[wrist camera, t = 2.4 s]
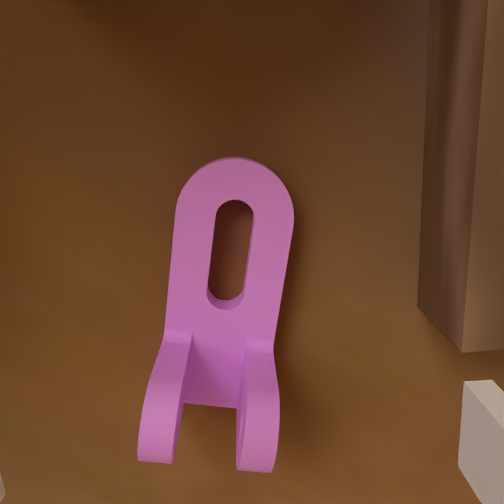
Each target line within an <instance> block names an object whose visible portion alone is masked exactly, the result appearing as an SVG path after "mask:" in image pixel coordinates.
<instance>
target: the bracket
mask: <svg viewBox="0 0 504 504" xmlns="http://www.w3.org/2000/svg"><path fill="white" fill-rule="evenodd" d="M229 200H241V201H243V202H245V203H247V204H248V205H249V206H250V207H251V209H252V210H253V213H254V217H253V224H252V231H251V238H250V245H249V252H248V259H247V266H246V273H245V280H244V287H243V290H242V292H241V293H240V295H239V296H237V297H236V298H234V299H232V300H220V299H218V298H216V297H215V296H213V295H212V293H211V292H210V290H209V287H208V278H209V270H210V261H211V253H212V244H213V236H214V228H215V219H216V212H217V210H218V208H219V207H220V206H221V205H222V204H223V203H225V202H226V201H229ZM293 225H294V210H293V205H292V201H291V198H290V195H289V193H288V191H287V189H286V187H285V186H284V184H283V183H282V181H281V180H280V179H279V177H278V176H277V175H276V174H275V173H274V172H273V171H272V170H271V169H269V168H268V167H266V166H265V165H263V164H261V163H260V162H258V161H255V160H252V159H248V158H244V157H225V158H220V159H217V160H214V161H212V162H210V163H208V164H206V165H204V166H203V167H201V168H200V169H199V170H198V171H196V172H195V173H194V174H193V175H192V177H191V178H190V179H189V180H188V182H187V183H186V184H185V186H184V187H183V189H182V191H181V193H180V195H179V198H178V201H177V205H176V211H175V222H174V233H173V244H172V254H171V265H170V276H169V286H168V297H167V308H166V318H165V329H164V336H163V341H162V344H161V347H160V350H159V353H158V356H157V359H156V361H155V364H154V367H153V370H152V373H151V376H150V379H149V383H148V386H147V390H146V395H145V399H144V404H143V410H142V416H141V422H140V429H139V438H138V451H137V456H138V461H145V462H155V463H166V464H172V463H173V459H174V455H175V449H176V444H177V439H178V433H179V428H180V423H181V418H182V412H183V407H184V403H188V404H197V405H207V406H217V407H227V408H236V468H237V470H242V471H252V472H263V473H271V471H272V469H273V466H274V463H275V458H276V452H277V445H278V436H279V421H280V398H279V389H278V382H277V375H276V368H275V362H274V355H273V346H274V338H275V332H276V326H277V320H278V315H279V309H280V303H281V297H282V291H283V285H284V279H285V273H286V267H287V261H288V255H289V249H290V243H291V237H292V231H293Z"/></svg>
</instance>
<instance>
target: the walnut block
mask: <svg viewBox="0 0 504 504" xmlns="http://www.w3.org/2000/svg"><path fill="white" fill-rule="evenodd" d="M418 307H419V308H420V309H421V310H422V311H423V312H424V314H425V315H426V316H427V317H428V318H429V319H430V320H431V321H432V322H433V323H434V324H435V325H436V326H437V327H438V328H439V329H440V331H441V332H442V333H443V334H444V335H445V336H446V337H447V338H448V339H449V340H450V341H451V342H452V343H453V344H454V345H455V346H456V347H457V349H458V350H459V351H460V352H461V353H467V352H481V351H495V350H504V0H431V7H430V30H429V53H428V76H427V99H426V122H425V145H424V168H423V192H422V215H421V238H420V261H419V284H418Z"/></svg>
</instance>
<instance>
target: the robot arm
mask: <svg viewBox="0 0 504 504" xmlns="http://www.w3.org/2000/svg"><path fill="white" fill-rule="evenodd" d="M458 467H459V468H460V470H461V472H462V473H463V475H464V476H465V478H466V480H467V481H468V483H469V484H470V486H471V488H472V489H473V491H474V493H475V494H476V496H477V497H478V499H479V501H480V502H481V504H504V392H503V391H502V390H501V389H500V388H499V387H498V385H497V384H496V383H495V382H494V381H493V380H479V381H464V386H463V400H462V414H461V428H460V442H459V455H458ZM5 495H6V493H5V489H4V485H3V482H2V478H1V474H0V503H1V501H2V500H3V498H4V496H5Z"/></svg>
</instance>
